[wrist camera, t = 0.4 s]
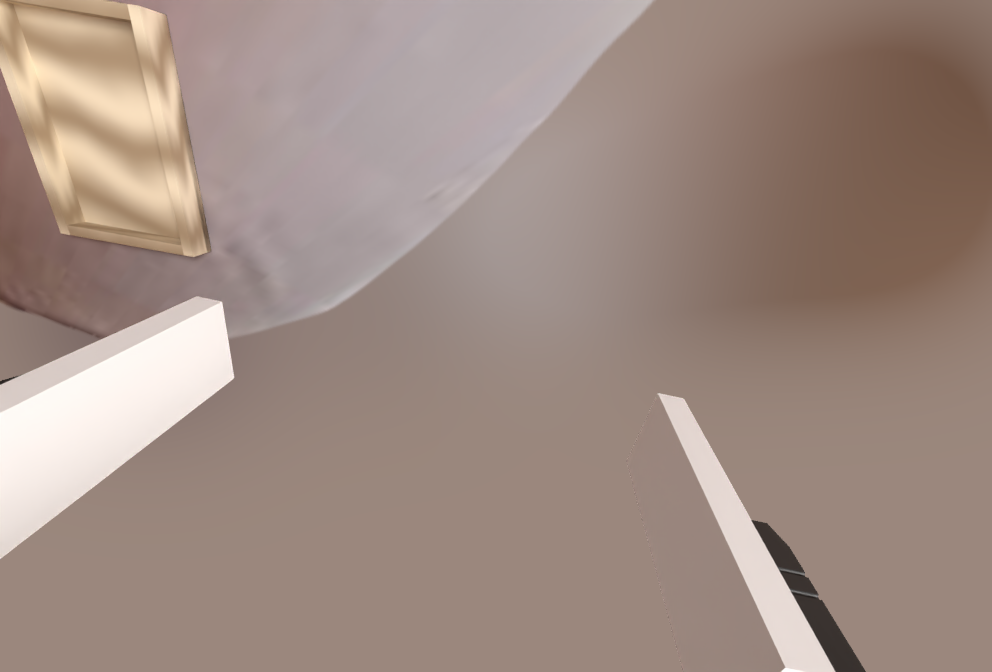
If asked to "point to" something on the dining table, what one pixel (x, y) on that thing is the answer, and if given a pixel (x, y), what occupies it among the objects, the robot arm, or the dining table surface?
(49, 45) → the tray
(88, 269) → the dining table surface
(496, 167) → the dining table surface
